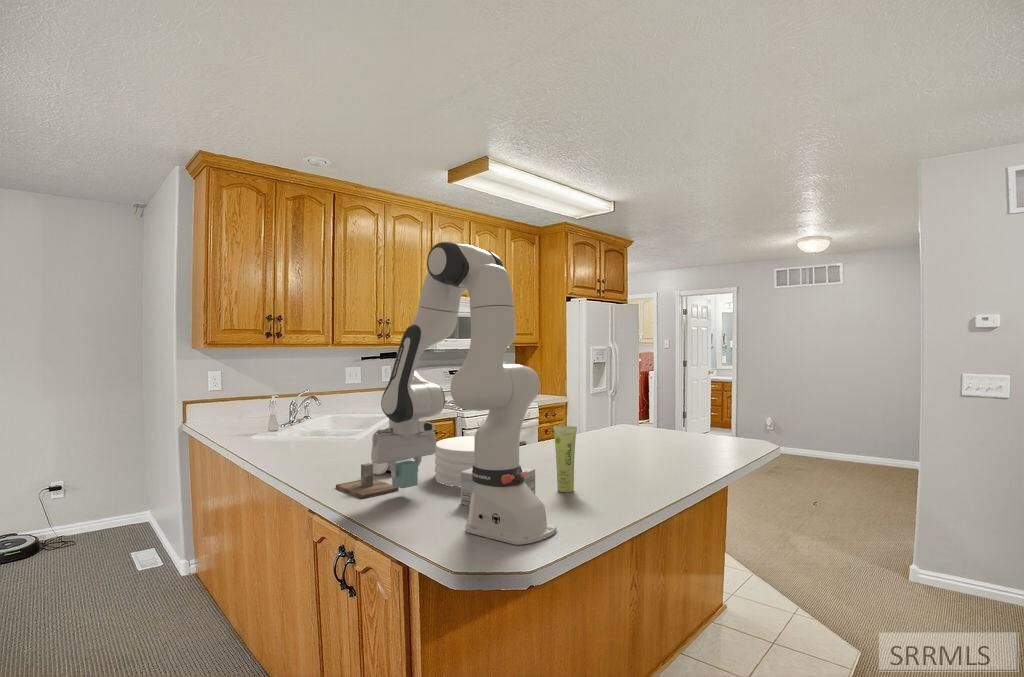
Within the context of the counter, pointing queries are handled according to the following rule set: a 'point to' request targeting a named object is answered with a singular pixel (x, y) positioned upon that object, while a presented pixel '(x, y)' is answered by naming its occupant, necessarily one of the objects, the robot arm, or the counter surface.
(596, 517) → the counter surface
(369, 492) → the post stand
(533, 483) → the supplement box
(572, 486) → the tube
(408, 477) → the teal rectangular block
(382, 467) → the spread jar
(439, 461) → the plate stack
